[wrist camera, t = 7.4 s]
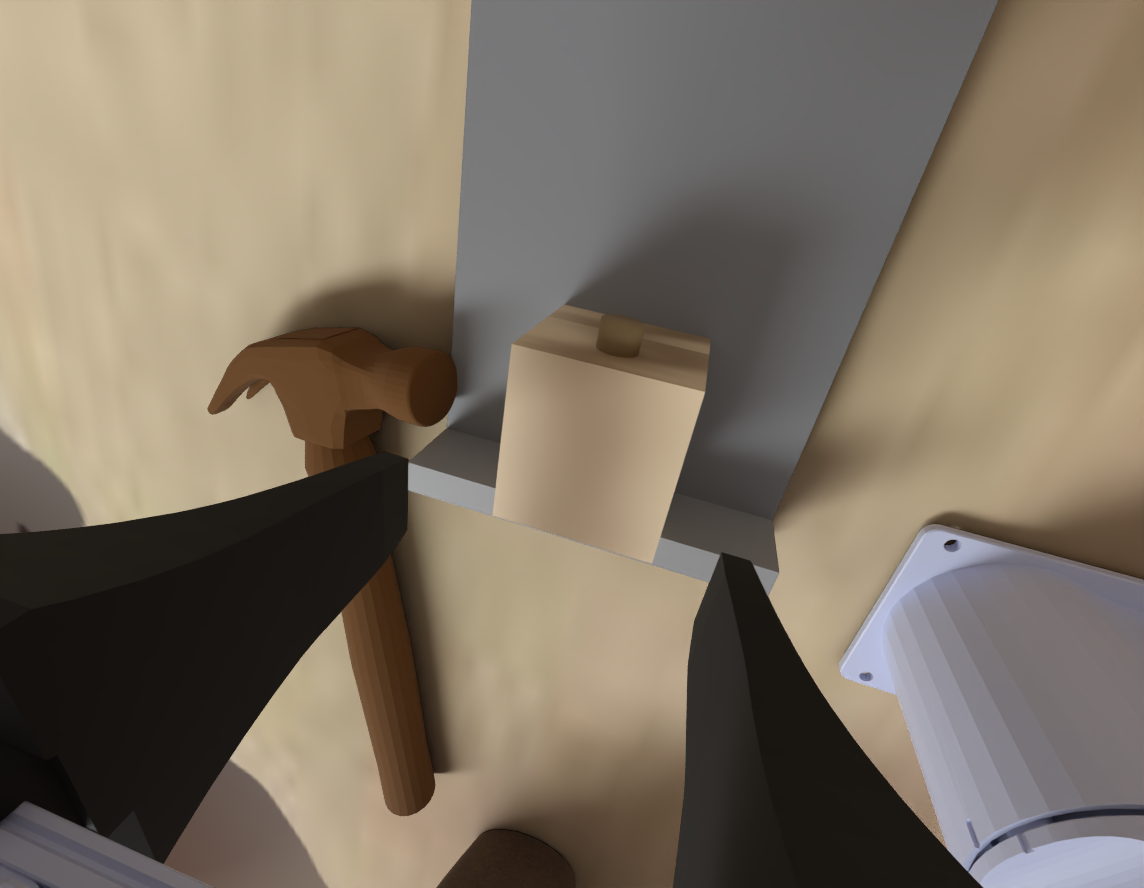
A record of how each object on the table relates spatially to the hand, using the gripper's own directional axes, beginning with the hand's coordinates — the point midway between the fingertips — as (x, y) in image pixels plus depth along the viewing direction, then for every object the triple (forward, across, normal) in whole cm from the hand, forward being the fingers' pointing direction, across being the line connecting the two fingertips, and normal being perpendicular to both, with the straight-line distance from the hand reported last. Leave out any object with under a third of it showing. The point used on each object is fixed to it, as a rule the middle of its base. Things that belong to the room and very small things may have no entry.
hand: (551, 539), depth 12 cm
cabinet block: (+8, 0, 0) cm, 8 cm away
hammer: (+10, +10, +15) cm, 20 cm away
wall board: (+9, 0, -4) cm, 10 cm away
